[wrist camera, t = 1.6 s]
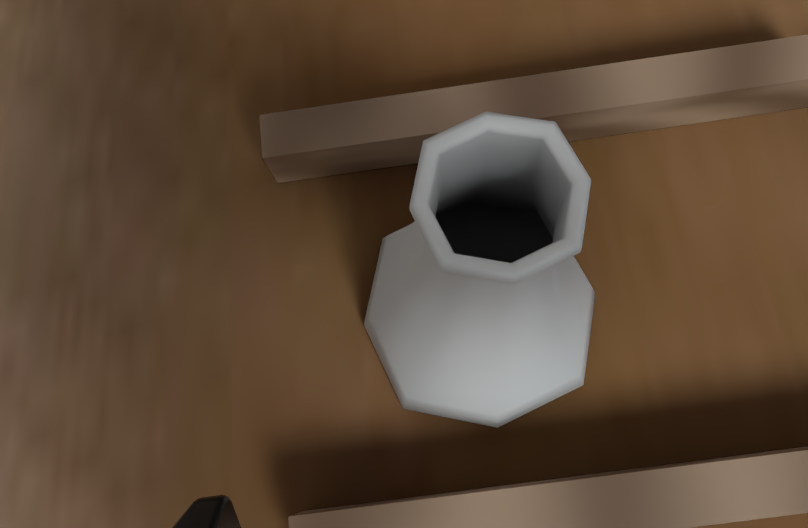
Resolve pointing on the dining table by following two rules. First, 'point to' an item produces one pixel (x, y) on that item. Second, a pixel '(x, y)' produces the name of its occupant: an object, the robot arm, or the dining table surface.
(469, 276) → the flask
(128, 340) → the dining table surface
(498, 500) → the guide channel
